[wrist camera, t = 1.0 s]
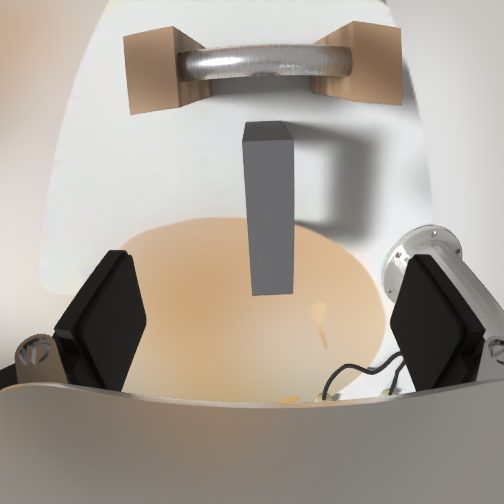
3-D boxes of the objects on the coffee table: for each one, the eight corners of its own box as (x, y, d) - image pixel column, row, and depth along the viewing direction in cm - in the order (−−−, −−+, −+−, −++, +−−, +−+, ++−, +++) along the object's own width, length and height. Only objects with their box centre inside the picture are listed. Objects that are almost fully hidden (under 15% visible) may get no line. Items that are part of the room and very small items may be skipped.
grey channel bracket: (282, 234, 37) (293, 293, 27) (252, 236, 37) (252, 295, 27) (280, 120, 30) (293, 139, 21) (245, 122, 30) (242, 141, 21)
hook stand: (340, 93, 28) (401, 105, 16) (182, 99, 29) (130, 115, 16) (339, 47, 26) (400, 28, 13) (178, 53, 26) (123, 36, 14)
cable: (327, 352, 48) (331, 369, 45) (414, 347, 48) (421, 361, 45) (310, 404, 56) (312, 419, 53) (386, 398, 56) (390, 411, 53)
